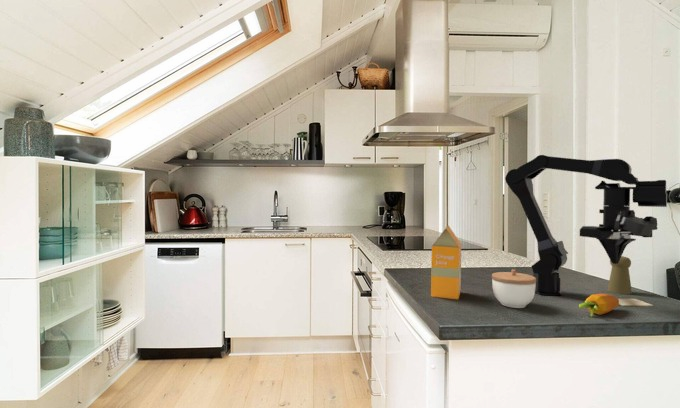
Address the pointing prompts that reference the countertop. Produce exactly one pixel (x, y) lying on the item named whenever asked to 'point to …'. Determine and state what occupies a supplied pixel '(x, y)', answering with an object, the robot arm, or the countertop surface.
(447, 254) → the orange juice
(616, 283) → the cork
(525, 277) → the lidded jar
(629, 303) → the beige rectangular sheet
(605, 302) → the carrot
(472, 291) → the countertop surface
